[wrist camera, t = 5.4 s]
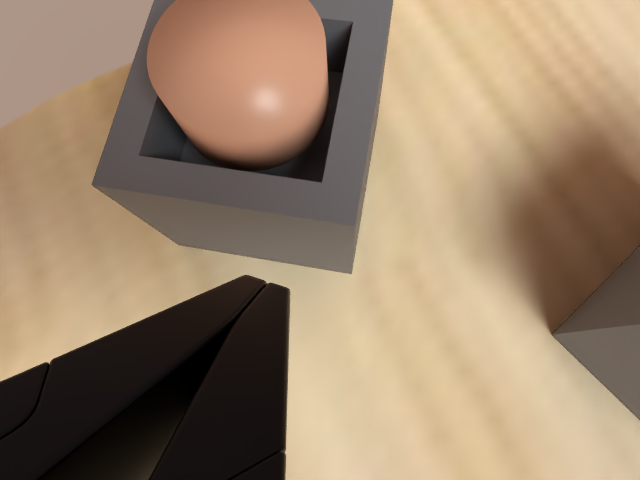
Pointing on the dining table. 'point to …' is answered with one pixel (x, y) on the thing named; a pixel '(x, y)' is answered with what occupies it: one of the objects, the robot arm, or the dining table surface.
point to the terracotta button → (242, 77)
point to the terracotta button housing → (266, 185)
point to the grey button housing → (610, 333)
